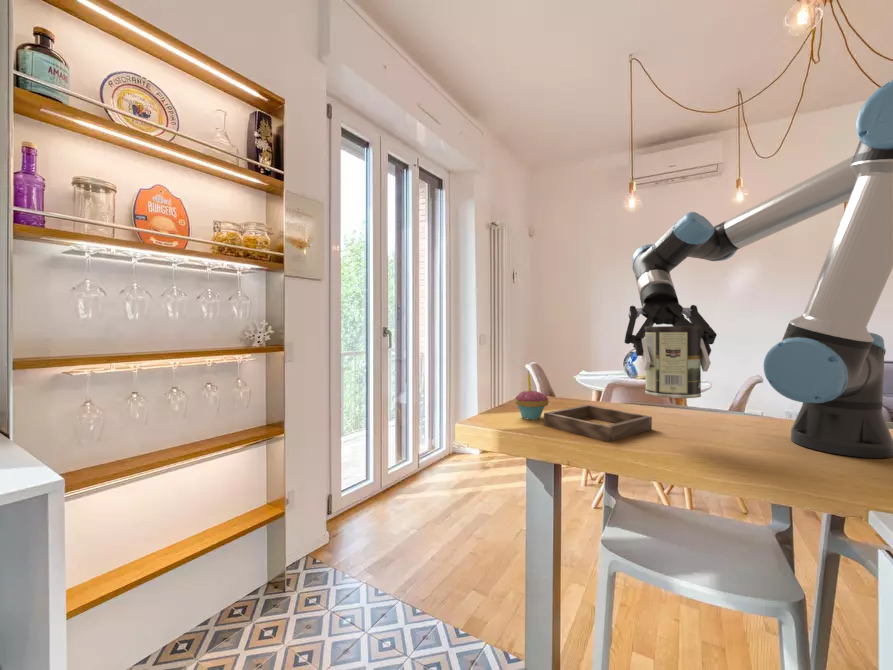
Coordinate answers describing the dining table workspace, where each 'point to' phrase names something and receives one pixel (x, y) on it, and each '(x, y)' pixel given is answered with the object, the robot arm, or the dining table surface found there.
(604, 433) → the dark brown wooden tray
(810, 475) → the dining table surface
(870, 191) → the robot arm
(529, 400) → the cupcake
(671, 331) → the coffee can
